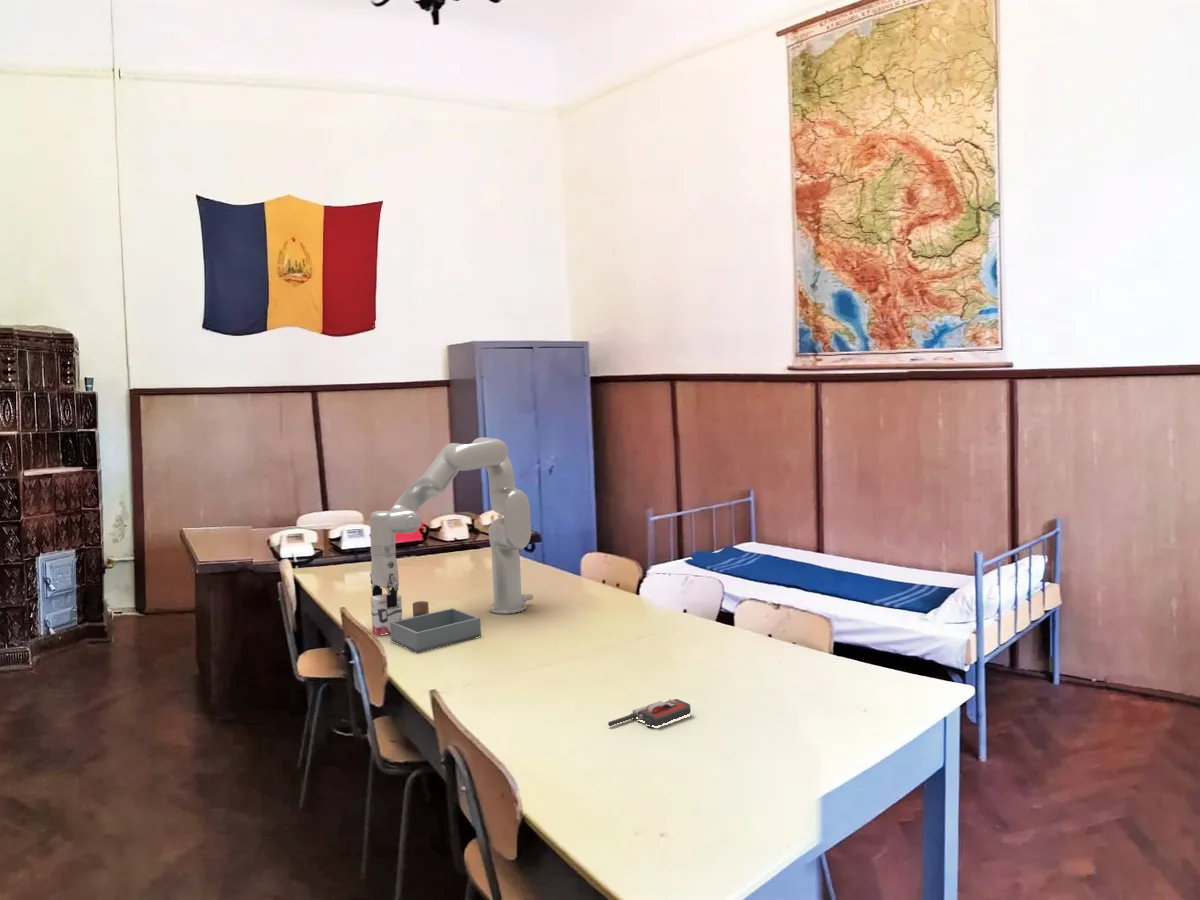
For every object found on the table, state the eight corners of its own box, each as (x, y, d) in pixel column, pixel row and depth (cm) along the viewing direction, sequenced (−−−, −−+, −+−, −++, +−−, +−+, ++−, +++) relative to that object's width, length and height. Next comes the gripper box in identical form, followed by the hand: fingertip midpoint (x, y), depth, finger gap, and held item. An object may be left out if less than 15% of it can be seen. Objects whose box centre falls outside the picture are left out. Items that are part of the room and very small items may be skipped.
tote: (453, 626, 280) (452, 608, 280) (481, 637, 268) (480, 617, 268) (391, 641, 266) (390, 622, 265) (417, 653, 254) (416, 633, 253)
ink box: (377, 636, 272) (375, 599, 271) (372, 632, 276) (370, 596, 275) (403, 631, 276) (401, 595, 275) (397, 627, 280) (396, 592, 279)
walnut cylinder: (424, 621, 287) (423, 600, 287) (432, 624, 284) (431, 603, 283) (410, 624, 284) (409, 603, 283) (418, 627, 280) (417, 606, 280)
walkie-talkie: (671, 706, 210) (605, 728, 198) (670, 688, 210) (605, 709, 197) (696, 716, 203) (630, 740, 191) (696, 698, 203) (629, 721, 190)
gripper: (407, 552, 269) (408, 607, 271) (381, 545, 283) (382, 597, 284) (385, 556, 265) (386, 611, 266) (359, 548, 278) (361, 601, 279)
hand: (384, 604), depth 275 cm, fingers open, 9 cm apart
